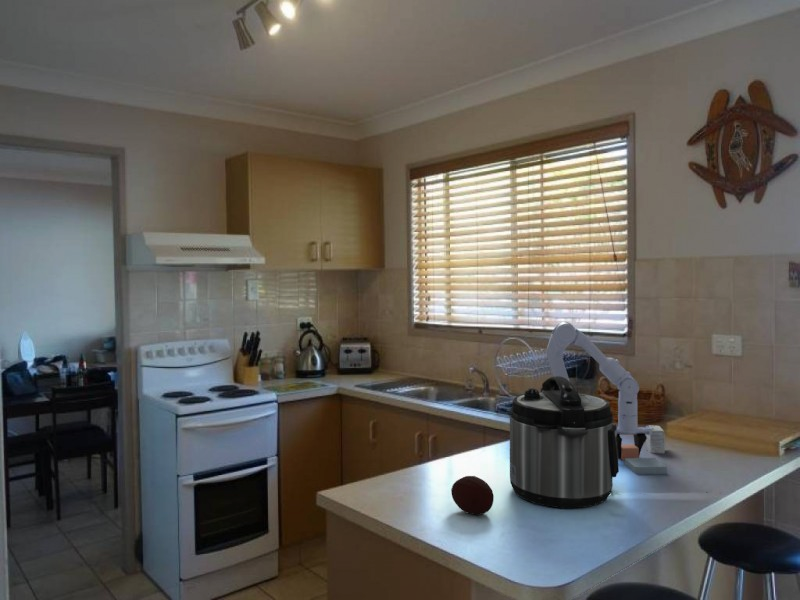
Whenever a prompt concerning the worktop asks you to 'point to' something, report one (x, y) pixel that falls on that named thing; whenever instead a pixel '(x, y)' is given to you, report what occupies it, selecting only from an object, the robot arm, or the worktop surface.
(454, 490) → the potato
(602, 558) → the worktop surface
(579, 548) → the worktop surface
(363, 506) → the worktop surface
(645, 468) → the top block
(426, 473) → the worktop surface
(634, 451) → the red cube
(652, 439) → the medicine box
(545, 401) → the pressure cooker
